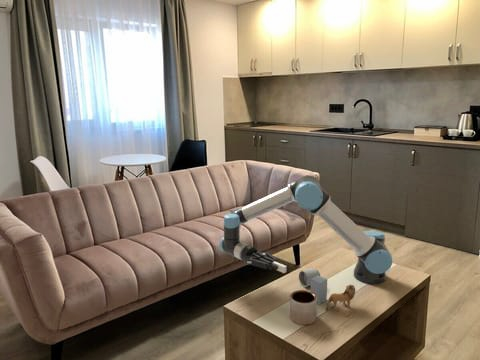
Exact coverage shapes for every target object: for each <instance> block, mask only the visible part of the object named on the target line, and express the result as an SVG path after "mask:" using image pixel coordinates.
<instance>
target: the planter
mask: <svg viewBox="0 0 480 360" xmlns="http://www.w3.org/2000/svg"><path fill="white" fill-rule="evenodd" d="M317 306H318V303H317V296H316V295H315V294H314V293H312V292H311V290H304V289H303V290H301V289H300V290H295V291H293V292H292V293H290V295H289V318H290V320H291V321H292V322H294V323H295V324H297V325H298V324H299V325H301V326H302V325H305V326H306V325H312V324H313V323H314V322H316V321H317V316H318V315H317V314H318V312H317V311H318V307H317Z"/></svg>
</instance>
